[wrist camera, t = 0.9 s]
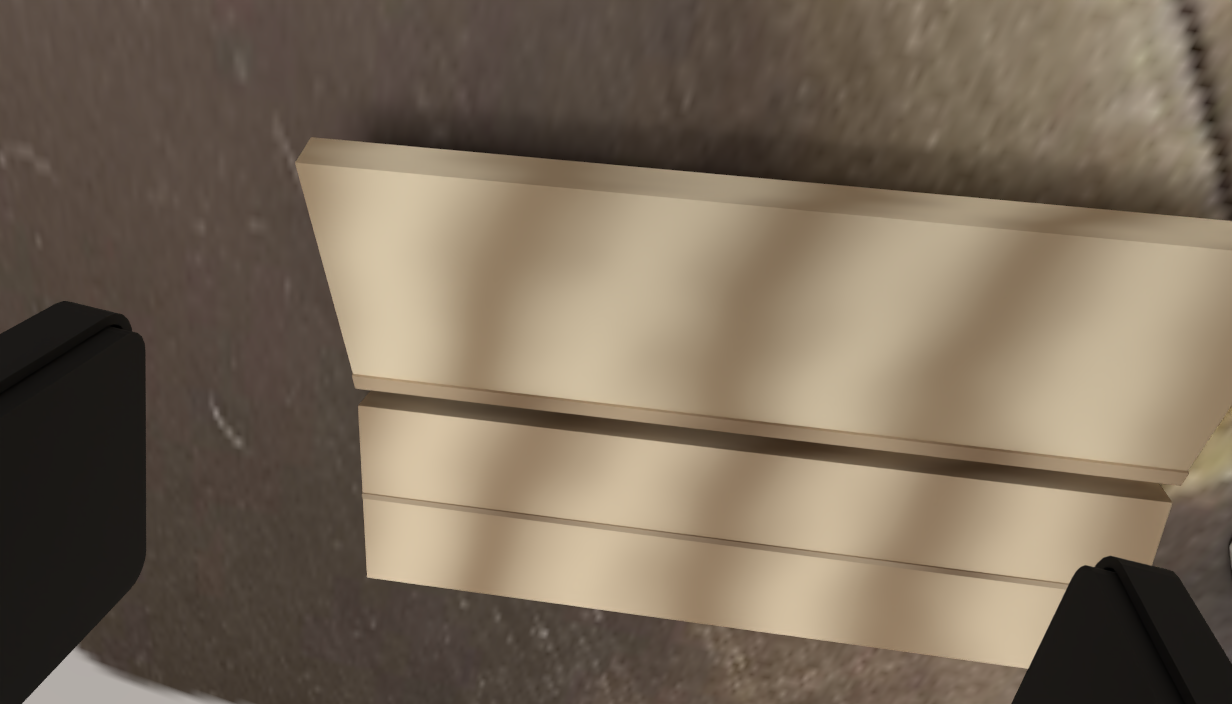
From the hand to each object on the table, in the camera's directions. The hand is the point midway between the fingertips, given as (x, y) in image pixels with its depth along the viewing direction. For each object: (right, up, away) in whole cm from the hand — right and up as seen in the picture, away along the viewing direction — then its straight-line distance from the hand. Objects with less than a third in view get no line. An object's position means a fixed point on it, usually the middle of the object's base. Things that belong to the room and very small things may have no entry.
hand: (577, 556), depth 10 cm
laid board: (+5, -4, +25) cm, 26 cm away
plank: (+5, +3, +20) cm, 20 cm away
